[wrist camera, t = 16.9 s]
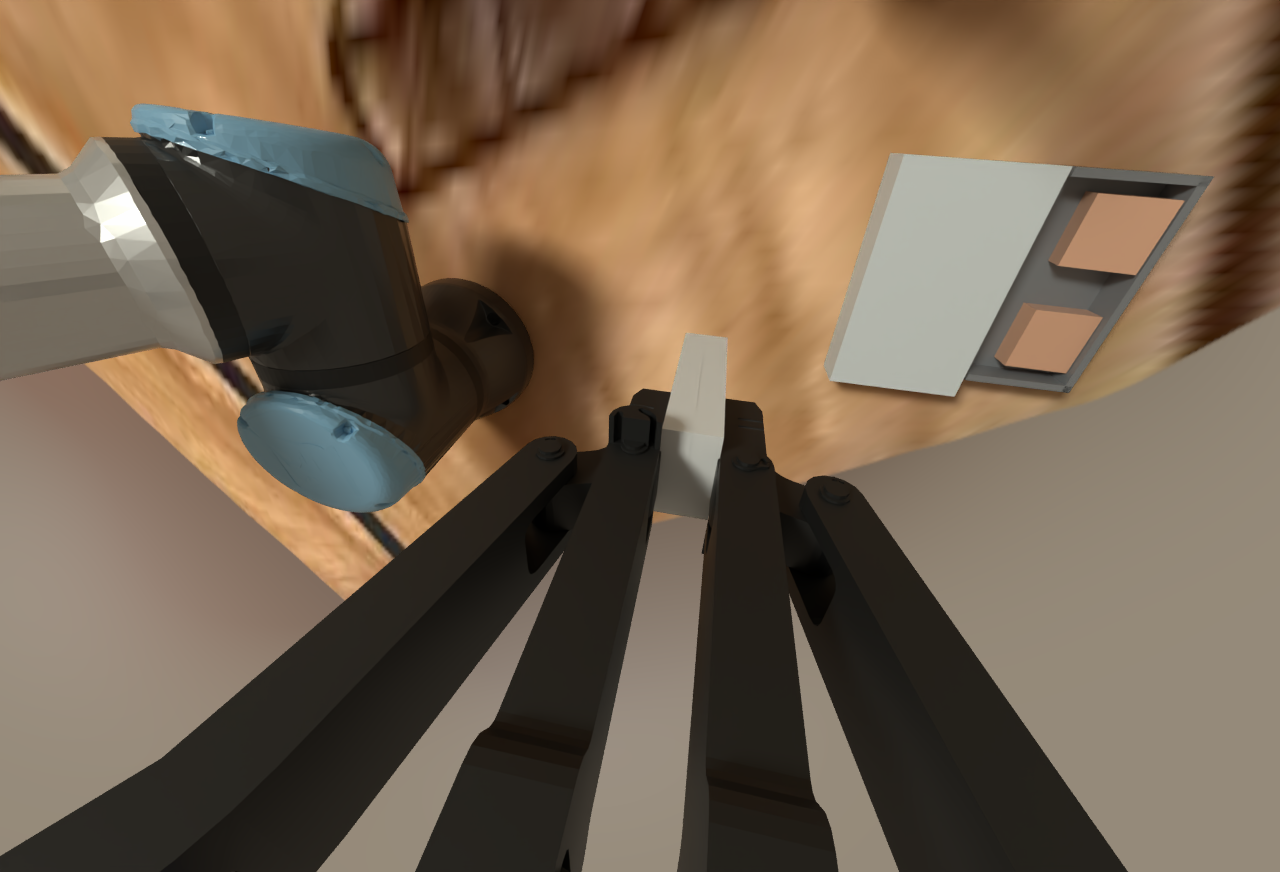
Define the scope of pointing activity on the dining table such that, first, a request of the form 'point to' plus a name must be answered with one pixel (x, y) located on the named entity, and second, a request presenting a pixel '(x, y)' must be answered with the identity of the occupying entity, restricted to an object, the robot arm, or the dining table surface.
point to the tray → (1079, 273)
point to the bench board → (937, 268)
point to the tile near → (1114, 231)
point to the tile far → (1047, 337)
